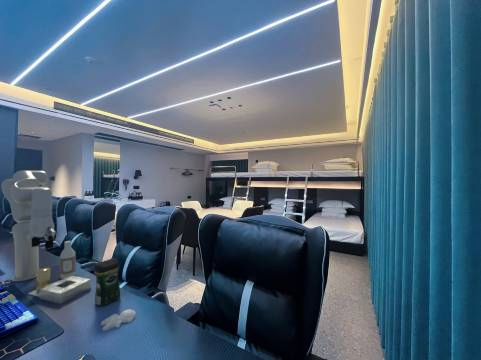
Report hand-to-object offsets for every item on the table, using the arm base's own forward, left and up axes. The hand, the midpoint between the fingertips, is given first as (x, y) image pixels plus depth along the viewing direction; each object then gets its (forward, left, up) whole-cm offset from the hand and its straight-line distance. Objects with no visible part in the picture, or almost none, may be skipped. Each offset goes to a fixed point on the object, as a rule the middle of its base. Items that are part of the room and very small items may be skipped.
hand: (42, 247), depth 105 cm
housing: (+13, +2, -22) cm, 26 cm away
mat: (0, 0, -22) cm, 22 cm away
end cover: (0, 0, -22) cm, 22 cm away
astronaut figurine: (+55, -6, -23) cm, 59 cm away
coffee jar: (+38, +3, -22) cm, 44 cm away
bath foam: (-5, +15, -22) cm, 27 cm away
